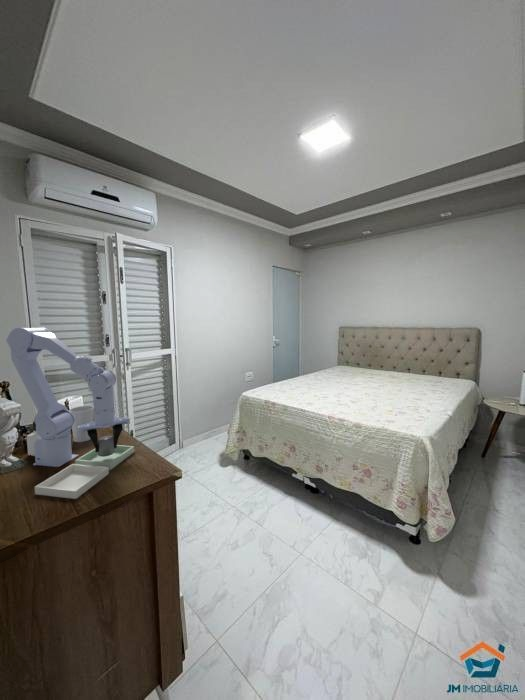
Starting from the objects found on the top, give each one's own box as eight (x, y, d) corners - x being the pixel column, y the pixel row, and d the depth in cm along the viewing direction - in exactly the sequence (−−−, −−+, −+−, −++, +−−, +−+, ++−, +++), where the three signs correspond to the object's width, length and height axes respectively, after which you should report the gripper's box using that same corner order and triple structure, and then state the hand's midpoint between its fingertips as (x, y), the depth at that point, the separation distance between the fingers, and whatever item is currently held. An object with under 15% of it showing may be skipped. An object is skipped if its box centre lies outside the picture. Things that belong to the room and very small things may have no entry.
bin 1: (35, 496, 72) (34, 486, 72) (73, 471, 84) (72, 463, 84) (75, 501, 70) (75, 491, 70) (108, 475, 82) (108, 467, 82)
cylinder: (94, 455, 89) (94, 440, 88) (106, 449, 93) (106, 434, 93) (106, 457, 88) (105, 442, 87) (117, 451, 92) (117, 436, 91)
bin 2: (75, 468, 86) (75, 460, 86) (103, 450, 98) (103, 443, 98) (110, 471, 84) (110, 463, 84) (134, 453, 96) (134, 446, 96)
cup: (66, 440, 106) (64, 410, 105) (86, 433, 113) (84, 404, 112) (80, 444, 103) (78, 413, 102) (100, 436, 110) (98, 407, 109)
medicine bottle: (44, 457, 93) (42, 423, 91) (27, 455, 94) (24, 421, 93) (64, 448, 100) (61, 416, 98) (47, 446, 101) (45, 414, 100)
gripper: (77, 416, 82) (80, 460, 83) (131, 407, 90) (132, 447, 92) (76, 410, 88) (79, 451, 89) (126, 402, 96) (128, 440, 97)
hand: (106, 449), depth 91 cm, fingers closed on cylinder, 4 cm apart
